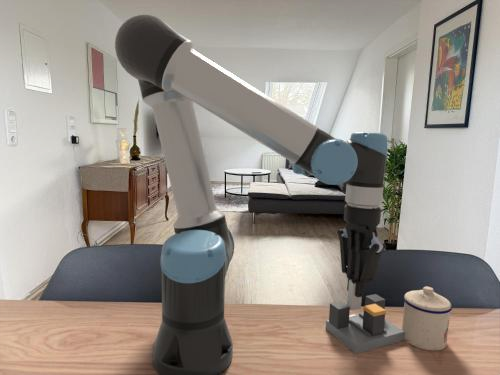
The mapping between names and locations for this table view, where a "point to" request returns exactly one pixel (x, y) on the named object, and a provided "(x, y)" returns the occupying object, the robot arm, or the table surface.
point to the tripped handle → (374, 319)
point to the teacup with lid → (426, 319)
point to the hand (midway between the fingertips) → (353, 307)
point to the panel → (360, 327)
